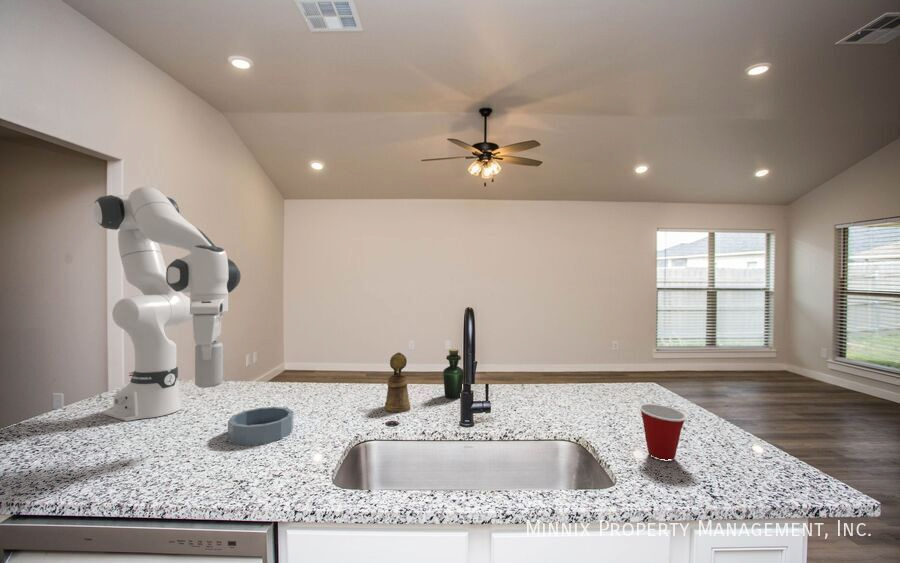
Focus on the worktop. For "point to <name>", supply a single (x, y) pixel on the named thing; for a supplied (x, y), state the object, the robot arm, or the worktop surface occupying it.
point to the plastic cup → (662, 429)
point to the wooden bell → (397, 386)
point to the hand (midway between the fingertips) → (209, 356)
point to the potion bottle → (453, 376)
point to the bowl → (260, 425)
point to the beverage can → (209, 366)
